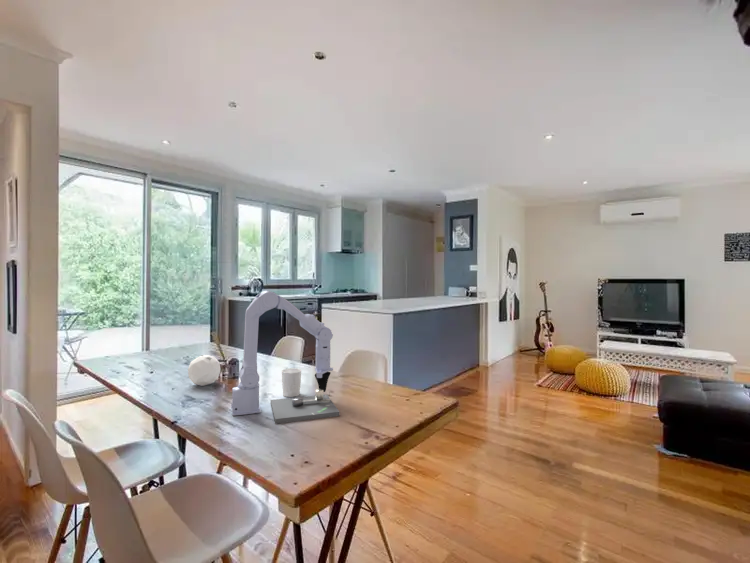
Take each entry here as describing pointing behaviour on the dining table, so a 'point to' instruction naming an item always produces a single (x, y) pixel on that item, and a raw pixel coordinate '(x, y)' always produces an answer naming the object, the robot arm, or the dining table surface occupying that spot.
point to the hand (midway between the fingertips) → (322, 391)
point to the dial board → (302, 410)
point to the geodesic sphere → (204, 370)
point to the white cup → (291, 382)
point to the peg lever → (318, 398)
